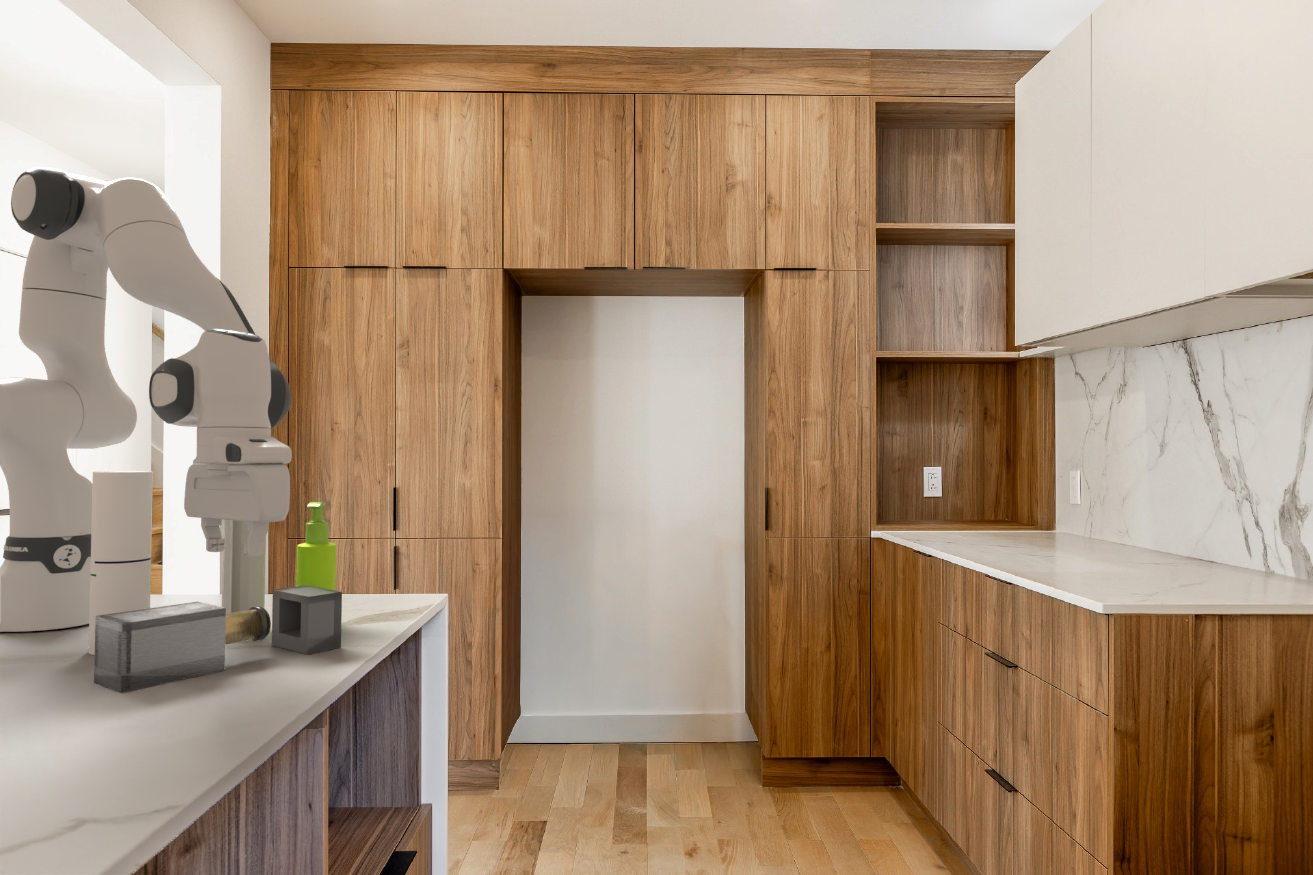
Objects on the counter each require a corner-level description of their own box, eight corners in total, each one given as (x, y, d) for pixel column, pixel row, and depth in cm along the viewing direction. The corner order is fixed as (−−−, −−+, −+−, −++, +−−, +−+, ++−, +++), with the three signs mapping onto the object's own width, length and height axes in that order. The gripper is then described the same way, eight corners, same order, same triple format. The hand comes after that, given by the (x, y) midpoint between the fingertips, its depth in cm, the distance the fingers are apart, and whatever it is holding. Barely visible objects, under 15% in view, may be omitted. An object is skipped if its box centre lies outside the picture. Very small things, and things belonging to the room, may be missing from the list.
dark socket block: (307, 654, 113) (308, 596, 113) (271, 645, 118) (272, 589, 118) (340, 647, 117) (341, 591, 117) (304, 638, 122) (305, 585, 122)
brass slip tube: (143, 666, 98) (144, 628, 98) (126, 660, 100) (127, 623, 100) (271, 641, 111) (272, 607, 111) (253, 637, 113) (253, 604, 114)
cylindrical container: (119, 657, 110) (123, 472, 111) (75, 653, 112) (79, 471, 112) (161, 644, 117) (165, 471, 118) (119, 642, 119) (123, 470, 119)
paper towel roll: (247, 625, 131) (250, 492, 132) (272, 629, 128) (275, 493, 129) (205, 633, 125) (207, 494, 125) (230, 638, 122) (233, 495, 122)
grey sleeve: (120, 692, 94) (122, 623, 95) (93, 682, 98) (95, 615, 99) (224, 670, 104) (225, 607, 104) (196, 661, 108) (197, 601, 109)
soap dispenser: (290, 632, 127) (293, 503, 127) (299, 622, 133) (301, 500, 134) (330, 630, 128) (333, 503, 128) (337, 621, 135) (339, 500, 135)
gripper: (171, 450, 112) (170, 551, 112) (252, 449, 101) (251, 561, 100) (217, 450, 117) (217, 547, 117) (299, 449, 106) (299, 556, 105)
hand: (233, 553), depth 109 cm, fingers open, 8 cm apart
